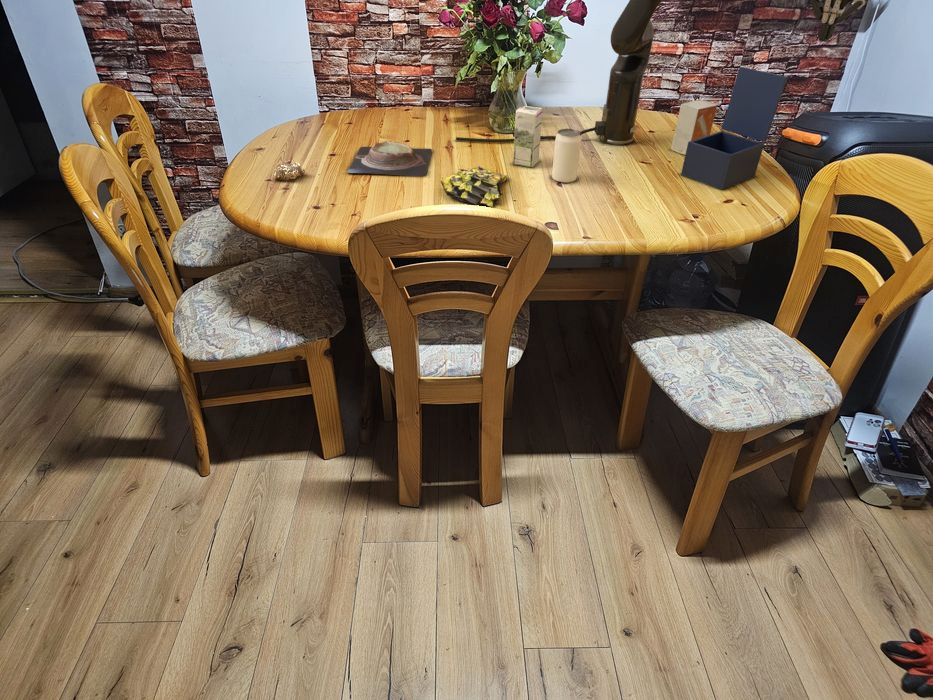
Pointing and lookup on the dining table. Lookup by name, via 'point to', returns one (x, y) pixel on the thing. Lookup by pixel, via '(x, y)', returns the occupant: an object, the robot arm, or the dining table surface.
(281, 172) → the beige lumpy piece
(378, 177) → the dining table surface
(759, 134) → the case lid
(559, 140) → the can
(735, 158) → the case
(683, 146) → the small box
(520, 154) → the syrup box
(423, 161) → the quiche
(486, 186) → the banana patterned fabric
